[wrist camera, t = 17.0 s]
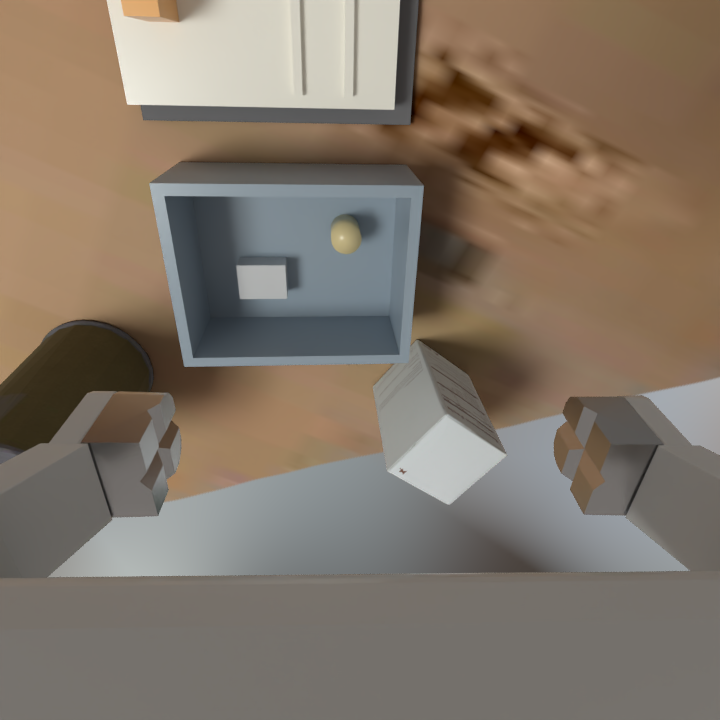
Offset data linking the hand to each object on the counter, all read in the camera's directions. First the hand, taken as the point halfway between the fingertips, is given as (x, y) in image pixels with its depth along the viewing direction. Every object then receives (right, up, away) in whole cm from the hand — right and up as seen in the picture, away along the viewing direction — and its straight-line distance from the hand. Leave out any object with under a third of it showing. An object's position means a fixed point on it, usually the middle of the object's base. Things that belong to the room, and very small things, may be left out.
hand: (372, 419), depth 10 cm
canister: (-26, 0, +38) cm, 46 cm away
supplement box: (+6, -1, +41) cm, 41 cm away
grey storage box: (-6, +11, +33) cm, 35 cm away
